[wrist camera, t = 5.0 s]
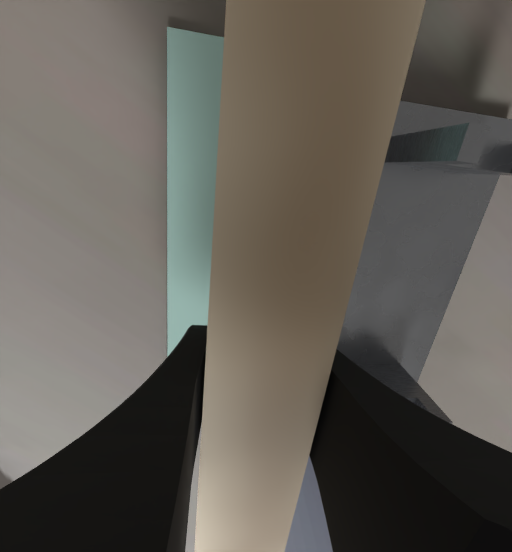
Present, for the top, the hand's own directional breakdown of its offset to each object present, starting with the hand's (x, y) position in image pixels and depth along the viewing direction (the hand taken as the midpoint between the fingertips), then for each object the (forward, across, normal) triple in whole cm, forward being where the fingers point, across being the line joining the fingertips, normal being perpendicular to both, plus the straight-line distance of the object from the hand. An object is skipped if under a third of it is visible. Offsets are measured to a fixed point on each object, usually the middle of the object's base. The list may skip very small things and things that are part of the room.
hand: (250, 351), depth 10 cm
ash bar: (0, 0, 0) cm, 0 cm away
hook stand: (+10, -11, 0) cm, 15 cm away
